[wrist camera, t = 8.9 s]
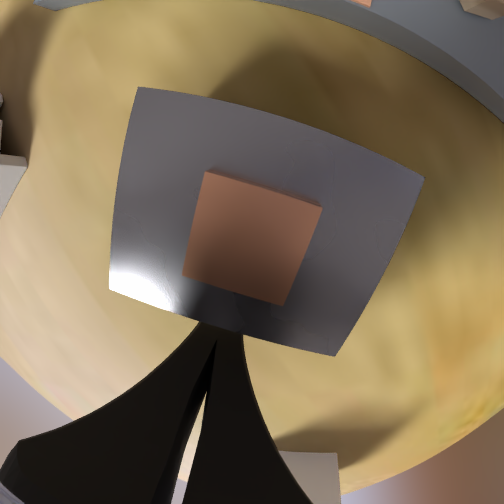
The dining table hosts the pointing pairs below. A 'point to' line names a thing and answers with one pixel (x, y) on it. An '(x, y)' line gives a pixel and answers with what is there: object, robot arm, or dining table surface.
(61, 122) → the dining table surface
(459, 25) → the base plate
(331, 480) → the white cube
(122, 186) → the link block
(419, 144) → the dining table surface
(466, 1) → the sprocket
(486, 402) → the dining table surface
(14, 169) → the grey slotted holder
